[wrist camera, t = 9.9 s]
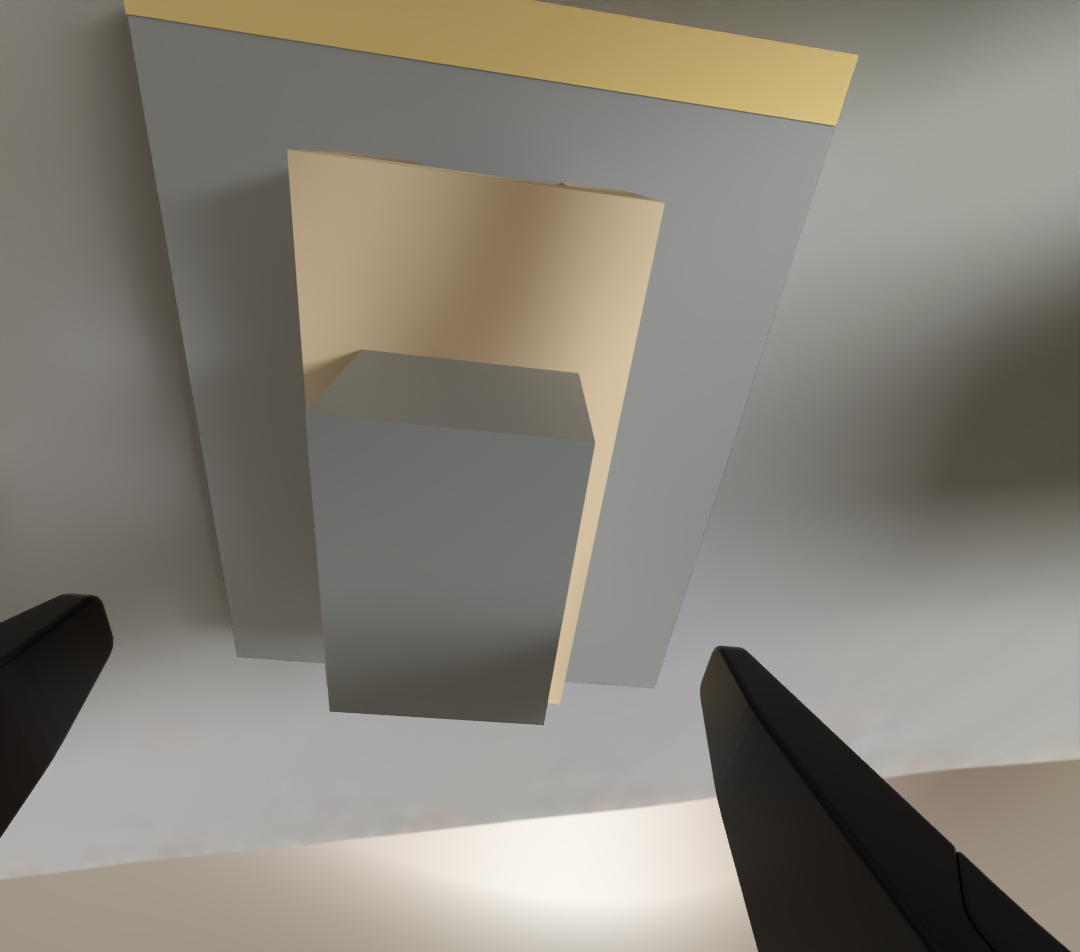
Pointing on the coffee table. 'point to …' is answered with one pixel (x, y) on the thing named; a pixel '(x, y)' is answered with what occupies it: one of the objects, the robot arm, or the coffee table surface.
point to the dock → (499, 150)
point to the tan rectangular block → (475, 287)
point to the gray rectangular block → (446, 533)
